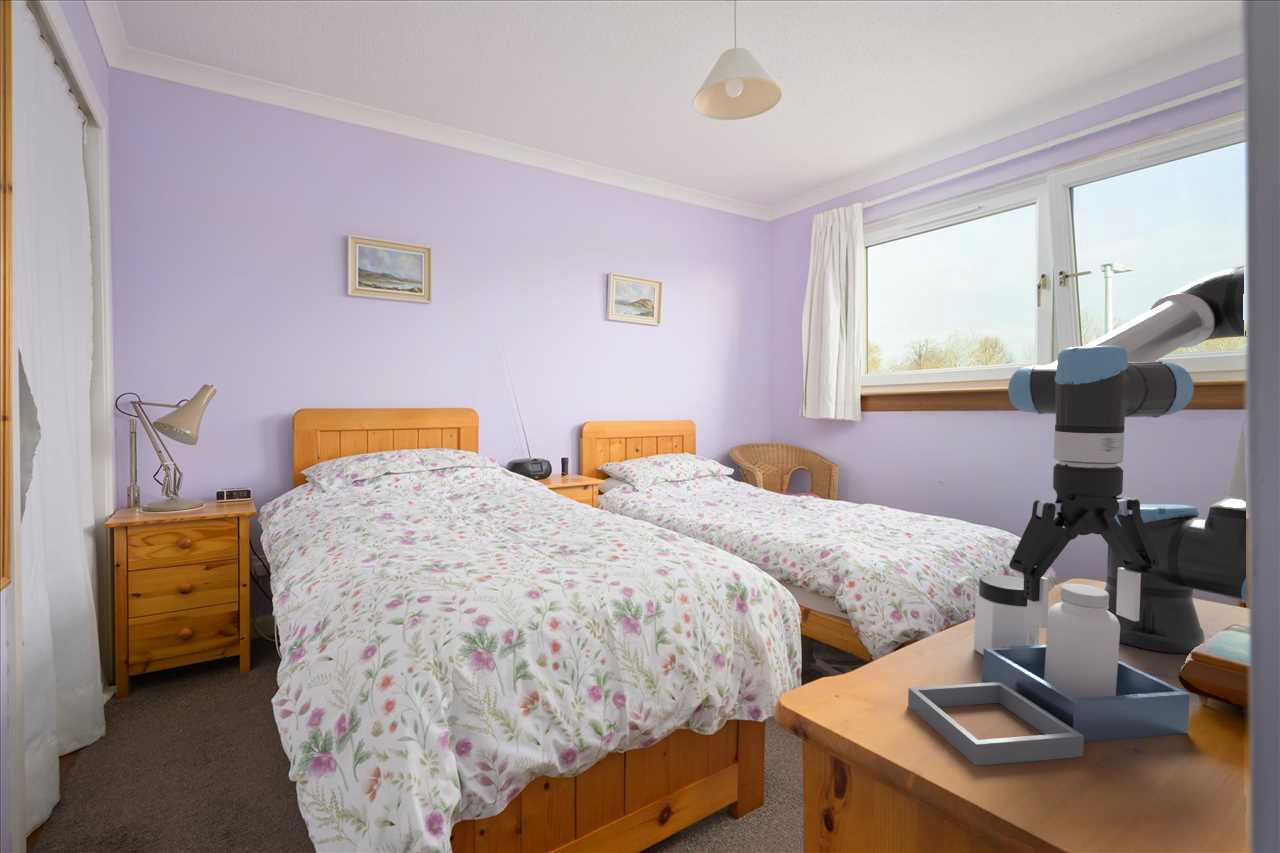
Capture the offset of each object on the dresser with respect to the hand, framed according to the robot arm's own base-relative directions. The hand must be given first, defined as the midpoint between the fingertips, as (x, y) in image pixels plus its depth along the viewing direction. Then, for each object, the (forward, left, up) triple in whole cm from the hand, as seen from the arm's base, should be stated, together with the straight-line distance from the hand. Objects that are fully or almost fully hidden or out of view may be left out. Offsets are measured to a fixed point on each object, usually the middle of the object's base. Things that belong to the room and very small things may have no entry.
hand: (1082, 621), depth 84 cm
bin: (0, 0, -12) cm, 12 cm away
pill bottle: (0, 0, -11) cm, 11 cm away
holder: (+16, +4, -12) cm, 20 cm away
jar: (-2, -16, -12) cm, 20 cm away
